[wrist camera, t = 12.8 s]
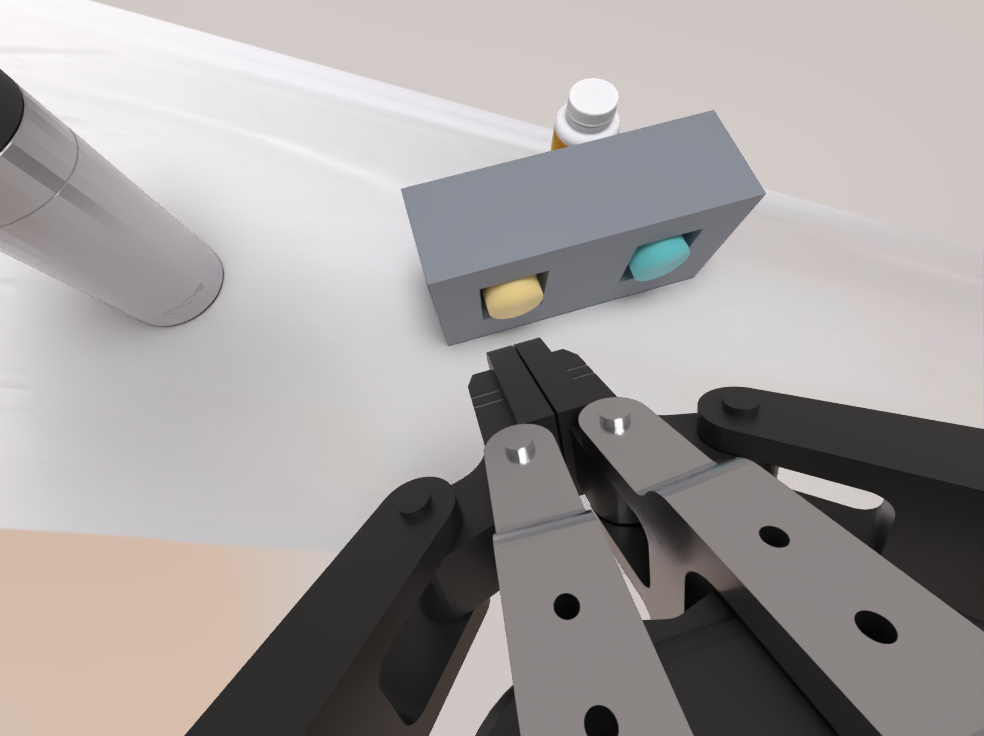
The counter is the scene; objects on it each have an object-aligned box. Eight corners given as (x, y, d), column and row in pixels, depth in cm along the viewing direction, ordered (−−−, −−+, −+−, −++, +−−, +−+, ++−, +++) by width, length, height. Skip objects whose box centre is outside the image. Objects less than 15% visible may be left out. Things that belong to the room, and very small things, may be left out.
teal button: (676, 272, 34) (700, 241, 30) (627, 286, 34) (645, 256, 29) (660, 241, 35) (682, 207, 31) (612, 254, 35) (628, 221, 30)
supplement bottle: (595, 216, 40) (625, 126, 31) (541, 207, 41) (553, 116, 31) (602, 172, 42) (633, 74, 32) (550, 164, 43) (564, 65, 33)
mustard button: (540, 310, 33) (546, 282, 29) (489, 324, 33) (487, 298, 29) (528, 277, 34) (532, 246, 30) (478, 290, 34) (475, 261, 30)
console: (693, 277, 38) (766, 193, 28) (448, 346, 36) (427, 284, 26) (659, 210, 40) (713, 110, 30) (427, 272, 39) (400, 188, 28)
